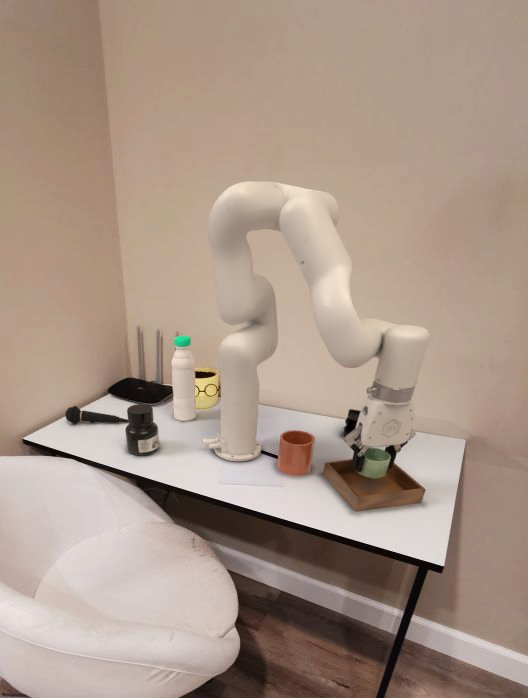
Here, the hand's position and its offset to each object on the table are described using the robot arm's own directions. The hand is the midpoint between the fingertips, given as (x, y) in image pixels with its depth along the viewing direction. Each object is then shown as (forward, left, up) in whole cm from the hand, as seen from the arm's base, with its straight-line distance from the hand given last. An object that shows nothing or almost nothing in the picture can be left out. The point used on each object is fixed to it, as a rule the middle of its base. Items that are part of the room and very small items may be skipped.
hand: (371, 466), depth 96 cm
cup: (-13, +12, -6) cm, 18 cm away
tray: (0, 0, -6) cm, 6 cm away
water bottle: (-34, +49, -6) cm, 60 cm away
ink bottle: (-49, +31, -6) cm, 58 cm away
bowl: (0, 0, -1) cm, 1 cm away
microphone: (-62, +51, -6) cm, 80 cm away
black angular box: (+12, +24, -6) cm, 28 cm away
